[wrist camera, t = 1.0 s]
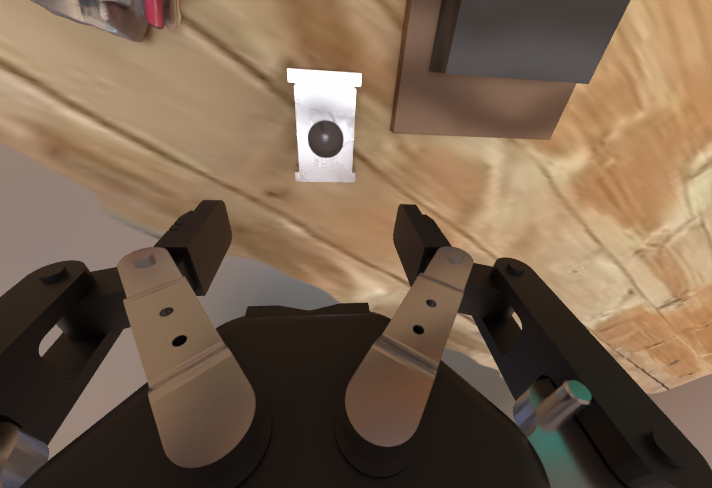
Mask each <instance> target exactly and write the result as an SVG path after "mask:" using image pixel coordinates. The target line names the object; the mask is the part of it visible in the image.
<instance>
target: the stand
mask: <svg viewBox="0 0 712 488" xmlns="http://www.w3.org/2000/svg"><path fill="white" fill-rule="evenodd" d="M629 2H630V0H407V5H406V13H405V21H404V28H403V36H402V44H401V52H400V59H399V67H398V75H397V82H396V90H395V98H394V105H393V113H392V121H391V128H390V130H391V131H392V132H393V133H394V134H419V135H444V136H469V137H494V138H519V139H544V140H550V138H551V136H552V134H553V132H554V129H555V127H556V125H557V123H558V121H559V119H560V117H561V115H562V113H563V111H564V108H565V106H566V104H567V102H568V100H569V98H570V96H571V94H572V92H573V90H574V87H575V85H576V83H582V84H589V82H590V80H591V78H592V76H593V74H594V72H595V70H596V68H597V66H598V64H599V62H600V60H601V58H602V56H603V54H604V52H605V50H606V48H607V46H608V44H609V42H610V40H611V38H612V36H613V34H614V32H615V30H616V28H617V26H618V24H619V22H620V20H621V18H622V16H623V14H624V12H625V10H626V8H627V6H628V4H629Z"/></svg>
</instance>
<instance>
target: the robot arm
mask: <svg viewBox="0 0 712 488" xmlns="http://www.w3.org/2000/svg"><path fill="white" fill-rule="evenodd" d="M231 240H232V232H231V227H230V223H229V219H228V215H227V211H226V207H225V204H224V202H223V201H222V200H203V201H202V202H201V203H200V204H199V205H198V206H197V208H196V209H195V210H194V211H189V212H188V213H186V214H184V215H182V216H180V217H179V218H178V220H177V221H176V222H175V223H174V225H172V226H171V227H170V229H169V231H167V232H166V233H165V234H164V235H163V236H162V238H161V239H160V240H159V241H158V242H157V243H156V244H155V245H154V247H149V248H143V249H140V250H137V251H134V252H132V253H130V254H128V255H126V256H125V257H123V258H122V259H121V260H120V261H119V263H118V265H117V267H115V268H109V269H104V270H98V271H93V272H90V271H89V270H88V268H87V267H86V265H85V264H84V263H83V262H80V261H62V262H57V263H54V264H50V265H47V266H45V267H42V268H40V269H38V270H36V271H34V272H32V273H30V274H29V275H27V276H26V277H25V278H24V279H22V280H21V281H20V282H19V283H17V284H16V285H15V286H14V287H12V288H11V289H10V290H9V291H7V292H6V293H5V294H4V295H2V296H1V297H0V488H712V470H711V468H710V466H709V465H708V463H707V462H706V460H705V459H704V457H703V456H702V455H701V454H700V452H699V451H698V450H697V449H696V448H695V447H694V446H693V445H692V444H691V442H690V441H689V440H688V439H687V438H686V437H685V436H684V435H683V434H682V432H681V431H680V430H679V429H678V428H677V427H676V426H675V425H674V424H673V423H672V422H671V420H670V419H669V418H668V417H667V416H666V415H665V414H664V413H663V412H662V411H661V410H660V409H659V407H658V406H657V405H656V404H655V403H654V402H653V401H652V400H651V399H650V397H649V396H648V395H647V394H646V393H645V392H644V391H643V390H642V389H641V388H640V387H639V385H638V384H637V383H636V382H635V381H634V380H633V379H632V378H631V377H630V376H629V374H628V373H627V372H626V371H625V370H624V369H623V368H622V367H621V366H620V365H619V364H618V362H617V361H616V360H615V359H614V358H613V357H612V356H611V355H610V354H609V353H608V351H607V350H606V349H605V348H604V347H603V346H602V345H601V344H600V343H599V342H598V341H597V339H596V338H595V337H594V336H593V335H592V334H591V333H590V332H589V331H588V330H587V329H586V327H585V326H584V325H583V324H582V323H581V322H580V321H579V320H578V319H577V318H576V316H575V315H574V314H573V313H572V312H571V311H570V310H569V309H568V308H567V307H566V306H565V304H564V303H563V302H562V301H561V300H560V299H559V298H558V297H557V296H556V295H555V293H554V292H553V291H552V290H551V289H550V288H549V287H548V286H547V285H546V284H545V283H544V281H543V280H542V279H541V278H540V277H539V276H538V275H537V274H536V273H535V272H534V270H533V269H532V268H531V267H529V266H528V265H526V264H525V263H523V262H521V261H519V260H516V259H512V258H499V259H497V260H496V262H495V264H494V266H493V267H491V266H486V265H481V264H477V263H473V258H472V257H471V256H470V255H469V254H468V253H467V252H465V251H463V250H461V249H459V248H456V247H452V246H451V245H450V243H449V242H448V240H447V239H446V237H445V236H444V235H443V233H441V230H440V229H439V228H438V226H437V224H436V223H435V221H434V220H433V219H431V218H430V217H428V216H427V215H422V213H421V212H420V210H419V209H418V207H417V206H416V205H411V204H400V205H399V207H398V211H397V217H396V222H395V227H394V233H393V241H394V245H395V248H396V250H397V253H398V255H399V258H400V260H401V263H402V265H403V268H404V271H405V273H406V276H407V278H408V281H409V283H410V286H411V288H410V290H409V292H408V293H407V295H406V297H405V298H404V300H403V301H402V303H401V305H400V306H399V308H398V310H397V311H396V313H395V314H394V316H393V318H392V319H390V318H388V317H386V316H383V315H381V314H378V313H374V312H370V311H369V305H368V303H342V304H336V305H332V306H328V307H324V308H319V309H315V310H310V311H308V310H301V309H296V308H290V307H284V306H249V307H248V308H247V311H246V314H245V316H243V317H240V318H237V319H234V320H231V321H229V322H227V323H225V324H223V325H221V326H219V327H218V328H216V329H215V327H214V325H213V323H212V322H211V320H210V319H209V317H208V315H207V313H206V312H205V310H204V308H203V306H202V305H201V303H200V301H199V300H198V298H197V296H205V295H206V293H207V291H208V289H209V287H210V285H211V283H212V281H213V279H214V277H215V274H216V272H217V271H218V268H219V266H220V264H221V262H222V260H223V258H224V256H225V254H226V252H227V250H228V248H229V246H230V244H231ZM514 311H515V313H516V314H517V315H518V317H519V318H520V320H521V323H522V330H521V329H520V327H519V326H518V324H517V323H516V321H515V320H514V318H513V317H512V314H513V313H514ZM457 312H458V313H462V314H467V315H471V316H472V317H473V319H474V321H475V323H476V325H477V327H478V329H479V331H480V333H481V335H482V337H483V339H484V341H485V343H486V345H487V346H488V348H489V350H490V352H491V354H492V356H493V358H494V360H495V362H496V364H497V366H498V368H499V370H500V372H501V374H502V376H503V378H504V380H505V382H506V384H507V385H508V388H509V390H510V391H511V393H512V395H513V397H514V399H515V403H514V405H513V416H514V420H515V422H516V424H515V423H514V422H513V421H512V420H511V419H510V418H509V417H508V416H507V415H505V414H504V413H503V412H502V411H501V410H500V409H498V408H497V407H496V406H495V405H494V404H492V403H491V402H490V401H489V400H488V399H487V398H485V397H484V396H483V395H482V394H481V393H480V392H478V391H477V390H476V389H475V388H474V387H472V386H471V385H470V384H469V383H468V382H467V381H465V380H464V379H463V378H462V377H461V376H460V375H458V374H457V373H456V372H455V371H454V370H452V369H451V368H450V367H448V365H446V364H445V363H444V362H443V361H442V360H441V357H442V354H443V351H444V348H445V346H446V343H447V340H448V337H449V334H450V331H451V329H452V326H453V323H454V320H455V317H456V314H457ZM55 324H56V325H57V326H58V327H59V328H60V329H61V330H62V331H63V333H62V334H61V336H60V337H59V338H58V339H57V340H56V341H55V342H54V344H53V345H52V346H51V347H50V348H49V349H48V351H47V352H46V353H45V354H44V355H43V356H42V357H41V356H40V355H39V345H40V342H41V340H42V339H43V338H44V336H45V335H46V334H47V333H48V332H49V331H50V330H51V329H52V328H53V326H54V325H55ZM129 327H131V329H132V332H133V335H134V339H135V342H136V345H137V348H138V352H139V355H140V358H141V362H142V365H143V368H144V371H145V375H146V378H147V381H148V382H147V383H146V384H144V385H143V386H142V387H141V388H139V389H138V390H137V391H135V392H134V393H133V394H132V395H130V396H129V397H128V398H127V399H125V400H124V401H123V402H122V403H120V404H119V405H118V406H117V407H115V408H114V409H113V410H112V411H110V412H109V413H108V414H106V415H105V416H104V417H103V418H102V419H100V420H99V421H98V422H96V423H95V424H94V425H93V426H91V427H90V428H89V429H88V430H86V431H85V432H84V433H83V434H81V435H80V436H79V437H78V438H76V439H75V440H74V441H72V442H71V443H70V444H69V445H67V446H66V447H65V448H64V449H62V450H61V451H60V452H59V453H58V454H56V455H55V456H54V457H52V458H51V459H50V460H49V461H48V458H49V448H48V444H49V443H50V441H51V439H52V438H53V436H54V435H55V433H56V432H57V430H58V429H59V427H60V426H61V424H62V423H63V421H64V419H65V418H66V416H67V415H68V413H69V412H70V410H71V409H72V407H73V406H74V404H75V403H76V401H77V400H78V398H79V396H80V395H81V393H82V392H83V390H84V389H85V387H86V386H87V384H88V383H89V381H90V380H91V378H92V377H93V375H94V373H95V372H96V370H97V369H98V367H99V366H100V364H101V362H102V361H103V360H104V358H105V357H106V355H107V353H108V352H109V350H110V349H111V347H112V346H113V344H114V343H115V341H116V340H117V338H118V337H119V335H120V334H121V332H122V331H123V329H125V328H129Z"/></svg>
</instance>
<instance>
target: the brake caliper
mask: <svg viewBox="0 0 712 488" xmlns="http://www.w3.org/2000/svg"><path fill="white" fill-rule="evenodd" d="M31 1H33V2H34V3H36V4H38V5H40V6H42V7H44V8H45V9H47V10H48V11H50V12H51V13H53V14H55V15H58V16H61V17H64V18H67V19H70V20H72V21H75V22H77V23H81V24H86V25H91V26H95V27H98V28H100V29H103V30H105V31H108V32H110V33H112V34H114V35H117V36H120V37H123V38H126V39H129V40H131V41H135V42H142V41H143V37H144V35H145V32H146V30H147V27H148V25H149V23H150V24H151V25H152V26H154V27H156V28H158V29H163V28H164V25H165V23H166V26H167V27H169V28H172V29H175V28H176V27H177V26H178V25H180V24H181V22H182V19H183V17H182V14H181V12H180V7H179V1H180V0H31ZM164 17H165V19H164Z"/></svg>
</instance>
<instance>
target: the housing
mask: <svg viewBox="0 0 712 488" xmlns="http://www.w3.org/2000/svg"><path fill="white" fill-rule="evenodd" d="M287 75H288V82H290V83H296V84H295V85H294V96H295V110H296V125H297V140H298V155H299V164H297V165H296V170H295V178H296V181H300V182H355V170H354V166H352V162H353V143H354V125H355V106H356V89H355V88H354V87H361V77H362V74H361V73H359V72H347V71H333V70H318V69H304V68H287ZM353 86H354V87H353Z"/></svg>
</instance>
